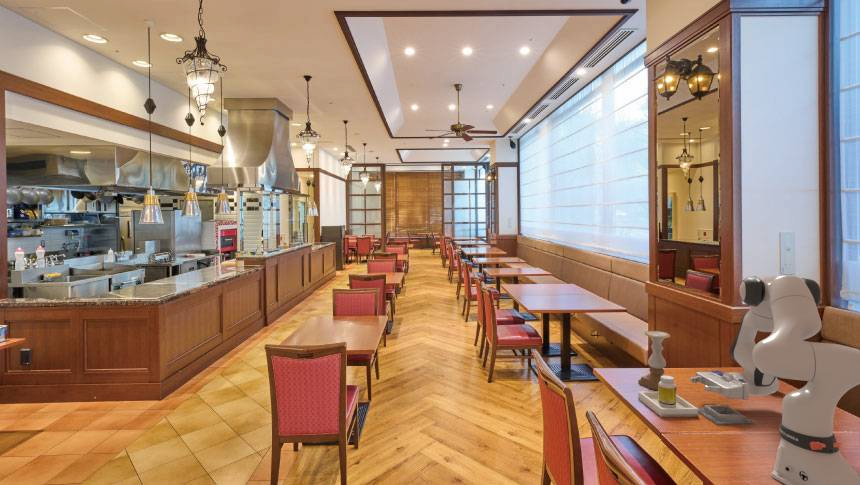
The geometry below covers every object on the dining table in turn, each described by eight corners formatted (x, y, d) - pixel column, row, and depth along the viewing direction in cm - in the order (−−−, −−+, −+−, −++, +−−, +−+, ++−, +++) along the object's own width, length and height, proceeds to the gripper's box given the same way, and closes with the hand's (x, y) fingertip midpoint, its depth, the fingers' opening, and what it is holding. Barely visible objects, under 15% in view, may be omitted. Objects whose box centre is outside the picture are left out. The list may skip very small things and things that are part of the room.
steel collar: (755, 424, 161) (755, 417, 161) (716, 424, 161) (717, 418, 161) (728, 408, 175) (728, 402, 175) (693, 409, 175) (693, 402, 175)
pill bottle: (678, 408, 173) (678, 380, 173) (660, 407, 174) (661, 379, 174) (672, 402, 179) (673, 375, 179) (656, 401, 180) (656, 374, 180)
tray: (698, 416, 168) (698, 408, 168) (661, 417, 168) (661, 409, 167) (671, 398, 186) (671, 391, 186) (638, 398, 186) (638, 391, 185)
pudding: (696, 380, 209) (696, 369, 209) (717, 378, 211) (717, 367, 211) (717, 389, 197) (717, 377, 197) (740, 387, 199) (740, 375, 199)
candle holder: (637, 383, 203) (638, 332, 203) (654, 380, 208) (654, 329, 207) (659, 391, 193) (659, 337, 193) (675, 387, 198) (676, 334, 197)
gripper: (715, 367, 187) (683, 368, 187) (751, 385, 166) (715, 385, 166) (715, 382, 187) (683, 382, 187) (751, 401, 167) (714, 402, 167)
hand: (698, 384), depth 177 cm, fingers open, 8 cm apart
